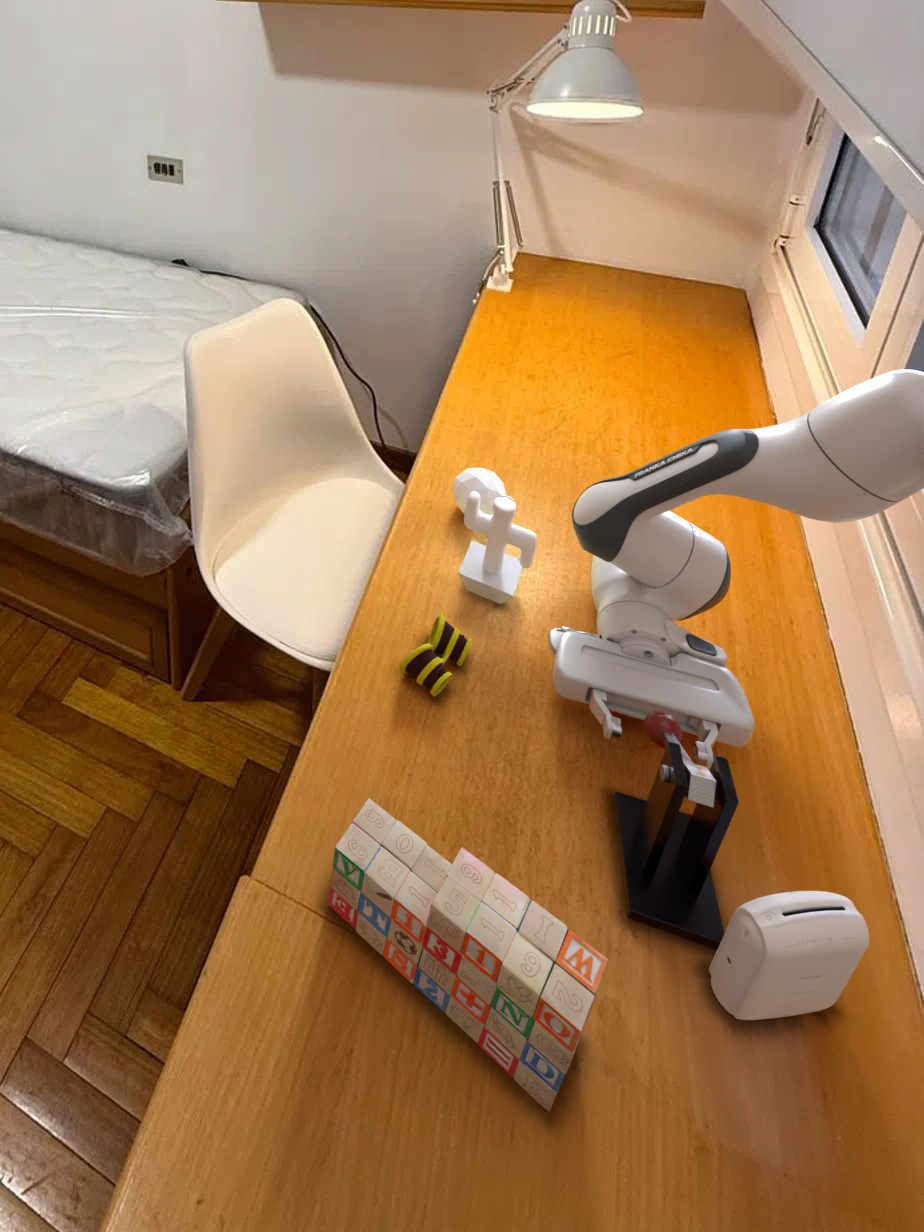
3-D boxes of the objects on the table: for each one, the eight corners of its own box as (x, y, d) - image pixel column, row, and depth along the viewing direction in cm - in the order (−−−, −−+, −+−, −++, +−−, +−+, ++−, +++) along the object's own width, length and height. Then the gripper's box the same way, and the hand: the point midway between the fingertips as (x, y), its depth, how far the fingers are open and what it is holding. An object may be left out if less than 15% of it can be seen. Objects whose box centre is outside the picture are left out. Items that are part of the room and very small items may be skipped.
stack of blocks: (325, 906, 80) (336, 824, 75) (359, 855, 84) (372, 774, 79) (551, 1115, 67) (582, 1032, 62) (578, 1041, 71) (610, 958, 66)
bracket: (612, 797, 90) (644, 701, 84) (696, 824, 87) (735, 727, 81) (627, 918, 79) (665, 818, 74) (723, 952, 77) (770, 851, 71)
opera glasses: (431, 708, 100) (445, 684, 97) (394, 676, 103) (406, 652, 100) (467, 658, 107) (481, 634, 104) (431, 628, 109) (443, 605, 107)
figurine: (517, 619, 111) (538, 532, 105) (446, 589, 116) (462, 504, 110) (528, 584, 117) (548, 499, 111) (460, 556, 121) (476, 473, 116)
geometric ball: (458, 525, 131) (433, 481, 131) (496, 496, 133) (471, 453, 133) (487, 536, 124) (460, 490, 124) (526, 505, 126) (500, 460, 126)
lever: (638, 734, 92) (642, 700, 92) (675, 745, 91) (679, 711, 91) (677, 804, 77) (682, 763, 78) (722, 818, 76) (726, 777, 77)
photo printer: (731, 1028, 72) (773, 945, 67) (697, 968, 76) (735, 885, 71) (840, 1014, 73) (890, 931, 68) (802, 956, 77) (846, 873, 72)
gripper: (552, 604, 104) (559, 698, 92) (740, 653, 98) (774, 761, 86) (542, 641, 107) (548, 737, 95) (725, 691, 100) (757, 801, 88)
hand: (658, 749), depth 90 cm, fingers open, 7 cm apart
